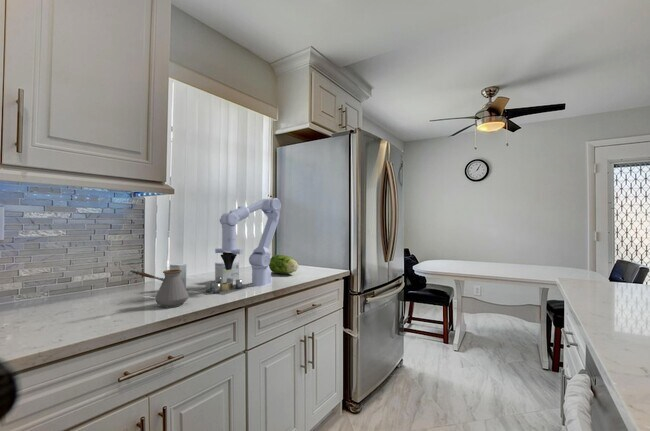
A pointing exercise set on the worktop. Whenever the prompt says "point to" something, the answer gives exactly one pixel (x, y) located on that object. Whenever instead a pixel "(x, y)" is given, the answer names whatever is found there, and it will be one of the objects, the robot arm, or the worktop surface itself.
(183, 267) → the skincare box
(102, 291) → the worktop surface
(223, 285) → the nut
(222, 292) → the mat
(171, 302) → the coffee pot
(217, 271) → the light bulb box
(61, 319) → the worktop surface
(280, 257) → the lettuce
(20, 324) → the worktop surface
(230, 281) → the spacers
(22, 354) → the worktop surface
